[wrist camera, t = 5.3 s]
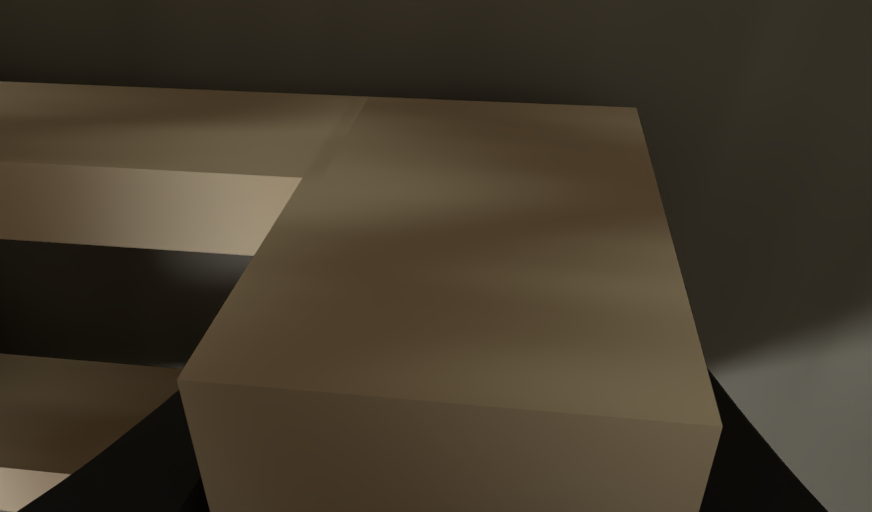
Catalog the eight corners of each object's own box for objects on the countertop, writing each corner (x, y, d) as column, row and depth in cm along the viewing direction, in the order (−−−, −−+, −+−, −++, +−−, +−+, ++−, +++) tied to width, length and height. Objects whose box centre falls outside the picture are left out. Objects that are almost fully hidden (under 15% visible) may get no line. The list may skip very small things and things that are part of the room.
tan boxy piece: (654, -18, 8) (779, 217, 4) (577, 507, 13) (593, 890, 9) (-266, -39, 10) (-989, 119, 5) (-32, 446, 15) (-300, 751, 10)
